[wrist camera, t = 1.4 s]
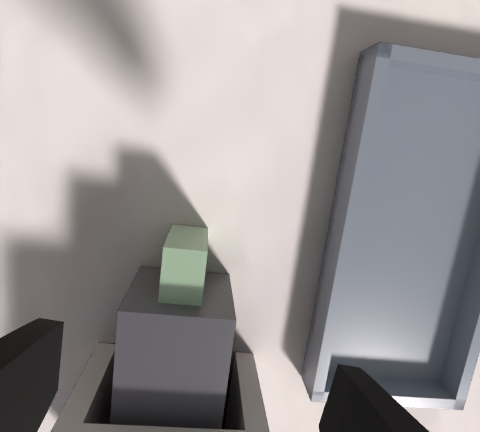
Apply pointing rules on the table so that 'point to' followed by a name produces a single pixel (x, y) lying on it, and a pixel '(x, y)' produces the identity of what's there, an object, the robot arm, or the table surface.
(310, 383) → the tray
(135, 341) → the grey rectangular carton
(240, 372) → the sleeve
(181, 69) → the table surface
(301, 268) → the table surface
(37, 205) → the table surface
